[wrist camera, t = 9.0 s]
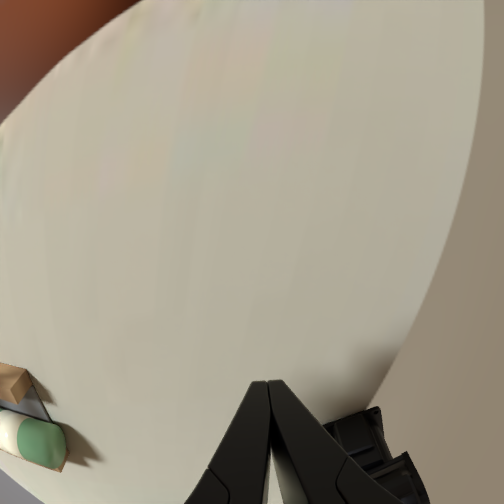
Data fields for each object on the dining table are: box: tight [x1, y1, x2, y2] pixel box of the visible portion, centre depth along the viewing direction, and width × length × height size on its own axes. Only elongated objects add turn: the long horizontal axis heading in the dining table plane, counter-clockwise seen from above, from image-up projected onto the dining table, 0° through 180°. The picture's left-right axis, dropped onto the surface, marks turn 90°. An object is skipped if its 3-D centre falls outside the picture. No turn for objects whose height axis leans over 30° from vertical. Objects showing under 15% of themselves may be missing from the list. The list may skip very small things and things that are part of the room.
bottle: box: [0, 408, 66, 469], centre depth 24 cm, size 6×6×17 cm
